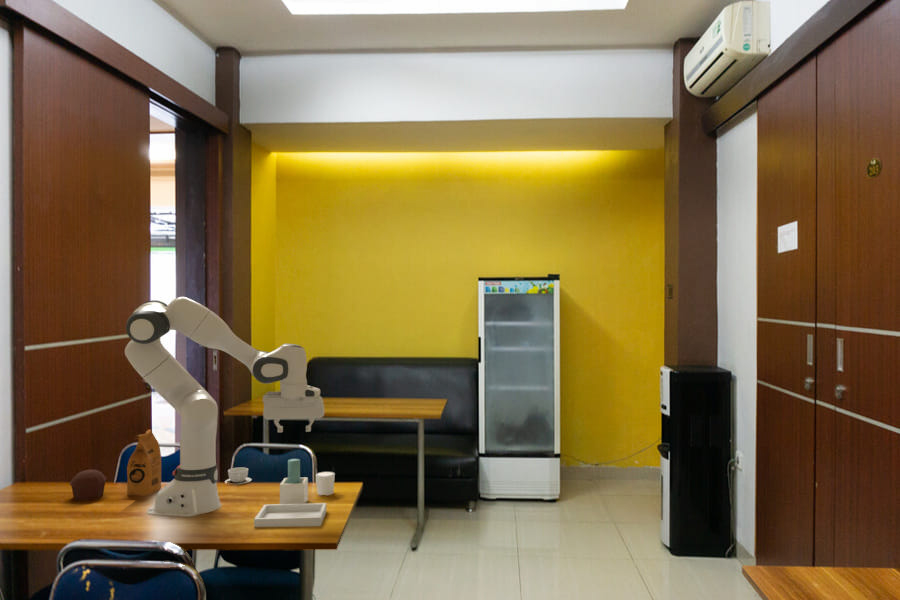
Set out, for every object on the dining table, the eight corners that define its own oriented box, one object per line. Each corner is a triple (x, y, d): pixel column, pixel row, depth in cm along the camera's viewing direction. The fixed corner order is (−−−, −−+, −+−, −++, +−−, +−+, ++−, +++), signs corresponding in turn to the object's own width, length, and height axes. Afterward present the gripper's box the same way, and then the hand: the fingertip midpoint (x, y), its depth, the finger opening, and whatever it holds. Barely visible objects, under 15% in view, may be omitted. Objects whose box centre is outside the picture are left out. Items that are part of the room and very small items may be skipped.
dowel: (287, 503, 214) (286, 461, 214) (289, 499, 218) (289, 459, 218) (299, 503, 215) (298, 461, 215) (301, 499, 219) (300, 458, 219)
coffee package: (121, 498, 223) (121, 436, 223) (138, 488, 236) (138, 429, 236) (150, 498, 223) (149, 436, 223) (165, 488, 236) (165, 428, 236)
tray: (254, 529, 193) (254, 519, 193) (264, 513, 207) (264, 504, 207) (320, 527, 194) (320, 517, 194) (326, 512, 208) (326, 503, 208)
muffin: (100, 503, 218) (100, 474, 218) (64, 506, 215) (64, 476, 215) (110, 493, 230) (110, 465, 230) (76, 495, 227) (76, 467, 227)
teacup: (223, 480, 247) (223, 468, 247) (250, 477, 251) (250, 465, 251) (225, 487, 238) (225, 474, 238) (253, 484, 242) (253, 471, 242)
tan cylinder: (330, 496, 225) (330, 476, 225) (312, 495, 226) (312, 475, 226) (337, 490, 232) (337, 471, 232) (320, 489, 233) (320, 470, 233)
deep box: (279, 508, 212) (279, 484, 212) (284, 500, 220) (284, 477, 220) (304, 507, 213) (304, 484, 213) (307, 500, 221) (307, 477, 221)
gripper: (260, 393, 213) (261, 434, 213) (322, 391, 214) (322, 432, 214) (264, 390, 219) (265, 430, 219) (324, 389, 220) (325, 428, 220)
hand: (294, 431), depth 217 cm, fingers open, 8 cm apart
